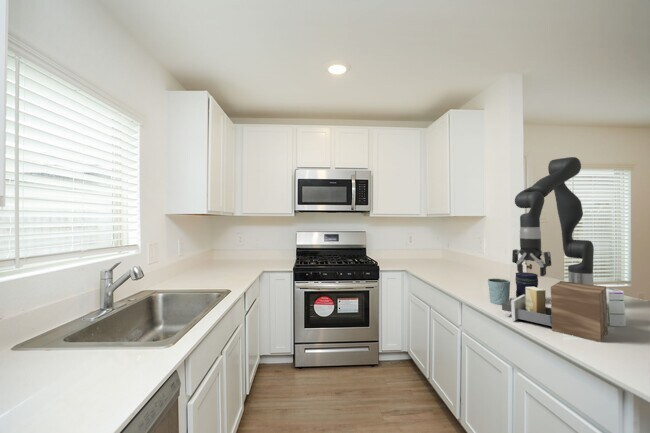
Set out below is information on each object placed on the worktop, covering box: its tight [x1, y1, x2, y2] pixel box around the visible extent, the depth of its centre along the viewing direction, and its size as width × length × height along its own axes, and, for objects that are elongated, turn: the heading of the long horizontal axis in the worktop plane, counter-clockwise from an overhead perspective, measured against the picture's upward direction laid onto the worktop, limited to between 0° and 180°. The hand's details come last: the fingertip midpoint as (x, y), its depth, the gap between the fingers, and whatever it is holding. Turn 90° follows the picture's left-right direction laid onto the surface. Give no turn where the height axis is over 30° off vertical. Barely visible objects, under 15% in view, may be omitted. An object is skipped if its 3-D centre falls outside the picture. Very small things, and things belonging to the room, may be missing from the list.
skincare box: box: [525, 287, 547, 314], centre depth 123 cm, size 6×4×12 cm
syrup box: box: [606, 287, 627, 327], centre depth 118 cm, size 6×6×14 cm
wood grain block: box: [550, 280, 608, 343], centre depth 112 cm, size 15×14×18 cm
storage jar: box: [515, 271, 539, 298], centre depth 150 cm, size 10×10×15 cm
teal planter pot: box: [487, 278, 511, 306], centre depth 150 cm, size 10×10×12 cm
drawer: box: [501, 295, 552, 327], centre depth 125 cm, size 15×19×8 cm
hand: (531, 274), depth 124 cm, fingers open, 8 cm apart
